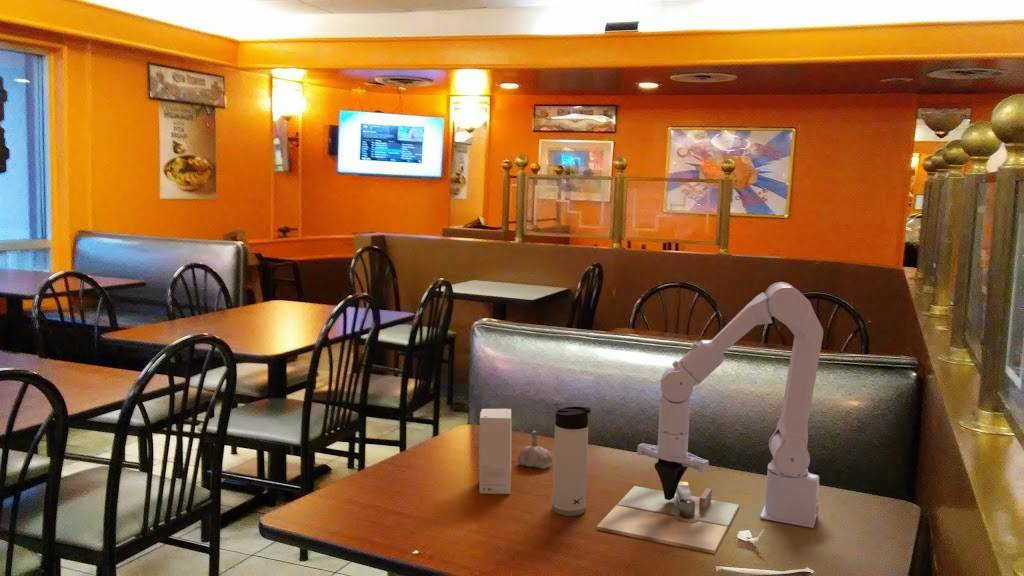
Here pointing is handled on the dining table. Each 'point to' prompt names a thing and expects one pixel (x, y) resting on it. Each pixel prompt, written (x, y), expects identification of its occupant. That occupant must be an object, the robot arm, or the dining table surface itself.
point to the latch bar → (685, 500)
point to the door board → (670, 519)
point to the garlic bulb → (535, 455)
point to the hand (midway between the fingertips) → (669, 498)
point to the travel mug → (570, 461)
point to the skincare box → (495, 451)
